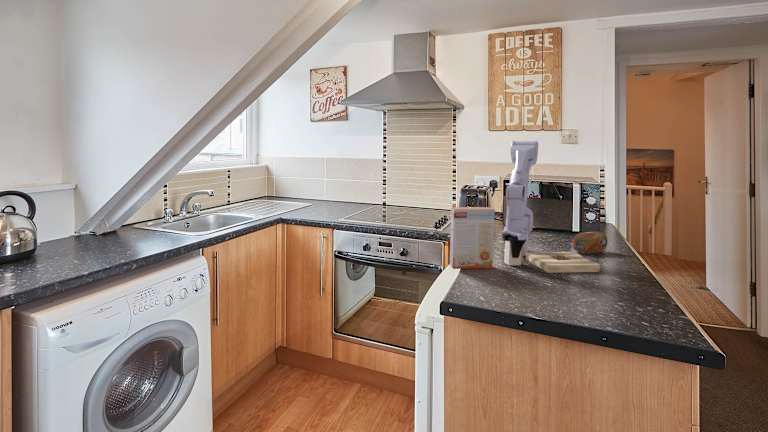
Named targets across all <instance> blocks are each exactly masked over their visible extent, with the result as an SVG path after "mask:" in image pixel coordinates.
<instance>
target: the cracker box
mask: <svg viewBox="0 0 768 432" xmlns="http://www.w3.org/2000/svg"><path fill="white" fill-rule="evenodd" d="M495 212H496V210H495V208H493V207H490V206H487V207H486V206H481V207H480V206H479V207H478V206H466V207H465V206H460V207H459V206H455V207H454V206H452V207H450V244H449V245H450V246H449V248H450V250H449V266H450V267H451V268H452V269H453V270H455V269H456V270H457V269H458V270H461V269H463V270H464V269H465V270H467V269H469V270H471V269H472V270H473V269H481V270H483V269H487V270H488V269H489V270H490V269H493V265H494V264H493V263H494V241H495V239H494V238H495V237H494V235H495V215H496V214H495Z"/></svg>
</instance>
